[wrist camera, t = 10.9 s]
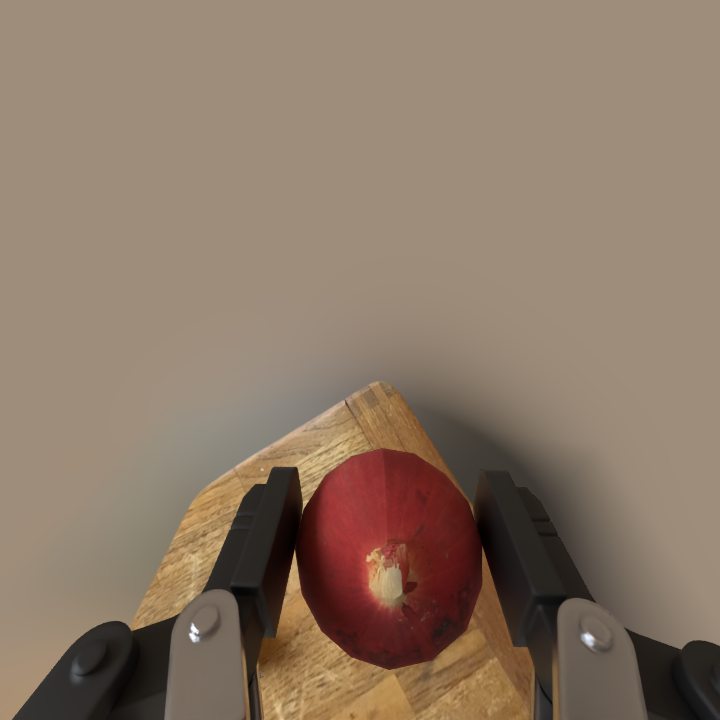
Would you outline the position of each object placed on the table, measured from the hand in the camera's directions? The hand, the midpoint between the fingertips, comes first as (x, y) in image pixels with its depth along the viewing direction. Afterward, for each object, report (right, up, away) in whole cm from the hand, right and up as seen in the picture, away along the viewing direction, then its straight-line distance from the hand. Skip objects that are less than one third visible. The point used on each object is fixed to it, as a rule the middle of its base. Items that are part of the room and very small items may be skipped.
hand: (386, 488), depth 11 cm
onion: (0, -3, +4) cm, 5 cm away
